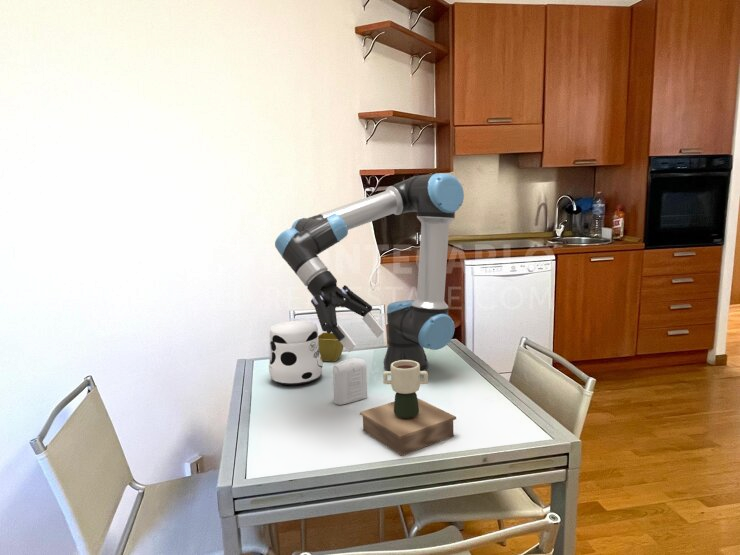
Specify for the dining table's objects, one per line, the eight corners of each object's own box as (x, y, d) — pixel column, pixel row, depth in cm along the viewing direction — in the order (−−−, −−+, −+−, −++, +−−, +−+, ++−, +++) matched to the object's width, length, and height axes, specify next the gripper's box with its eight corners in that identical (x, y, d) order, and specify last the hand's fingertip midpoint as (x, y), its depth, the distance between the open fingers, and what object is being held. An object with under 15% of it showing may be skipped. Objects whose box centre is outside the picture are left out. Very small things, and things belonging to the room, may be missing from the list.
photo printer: (361, 393, 156) (360, 354, 154) (369, 398, 153) (368, 357, 151) (332, 402, 151) (330, 361, 149) (339, 406, 147) (337, 365, 145)
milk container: (334, 377, 171) (331, 324, 168) (292, 393, 159) (288, 336, 156) (300, 367, 183) (297, 317, 180) (259, 381, 170) (255, 327, 168)
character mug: (428, 408, 132) (427, 359, 130) (429, 421, 125) (427, 369, 123) (385, 408, 133) (383, 359, 131) (383, 420, 126) (381, 369, 124)
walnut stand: (413, 413, 141) (412, 395, 140) (456, 436, 127) (456, 416, 126) (360, 430, 132) (359, 412, 131) (400, 457, 118) (400, 436, 117)
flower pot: (346, 356, 193) (345, 333, 191) (338, 364, 185) (337, 339, 183) (324, 355, 195) (323, 332, 194) (315, 362, 187) (313, 338, 186)
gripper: (337, 279, 150) (383, 336, 145) (278, 297, 129) (330, 364, 124) (351, 262, 146) (399, 320, 141) (294, 277, 125) (348, 346, 120)
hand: (367, 341), depth 132 cm, fingers open, 13 cm apart
